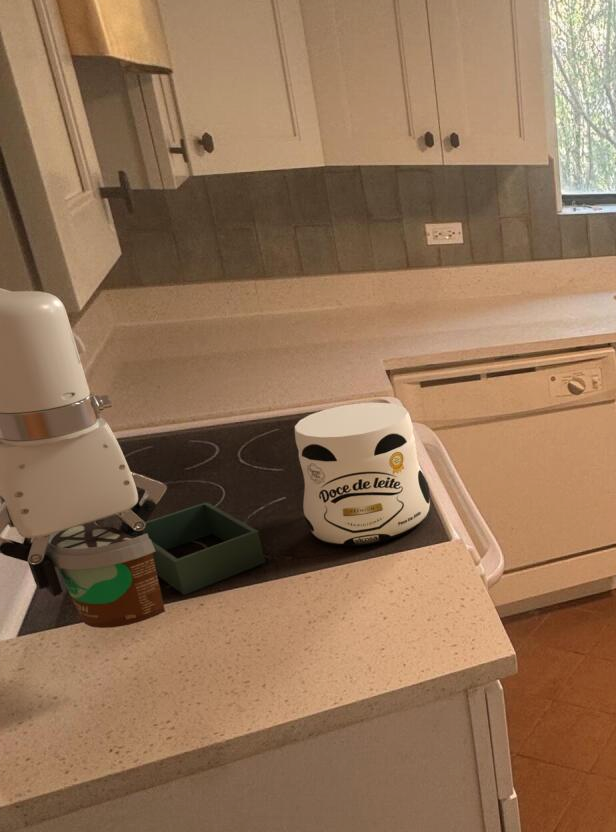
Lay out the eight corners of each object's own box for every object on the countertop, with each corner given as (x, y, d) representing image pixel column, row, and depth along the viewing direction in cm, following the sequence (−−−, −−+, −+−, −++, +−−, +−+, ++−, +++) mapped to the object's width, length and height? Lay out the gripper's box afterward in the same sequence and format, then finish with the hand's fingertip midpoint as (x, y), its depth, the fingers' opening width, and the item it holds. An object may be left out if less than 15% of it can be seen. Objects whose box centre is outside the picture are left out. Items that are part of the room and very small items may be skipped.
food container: (40, 617, 85) (11, 536, 81) (103, 589, 90) (78, 511, 86) (112, 646, 80) (85, 562, 77) (174, 614, 86) (150, 534, 82)
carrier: (136, 562, 111) (125, 528, 109) (215, 534, 119) (206, 501, 117) (185, 598, 102) (174, 561, 100) (266, 565, 110) (258, 530, 108)
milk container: (355, 568, 109) (330, 449, 103) (286, 537, 118) (260, 425, 112) (457, 519, 123) (441, 412, 117) (389, 495, 132) (371, 393, 126)
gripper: (135, 390, 86) (174, 534, 92) (-85, 435, 73) (-22, 600, 79) (163, 403, 82) (202, 553, 88) (-64, 454, 69) (1, 626, 75)
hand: (96, 574), depth 83 cm, fingers closed on food container, 6 cm apart
